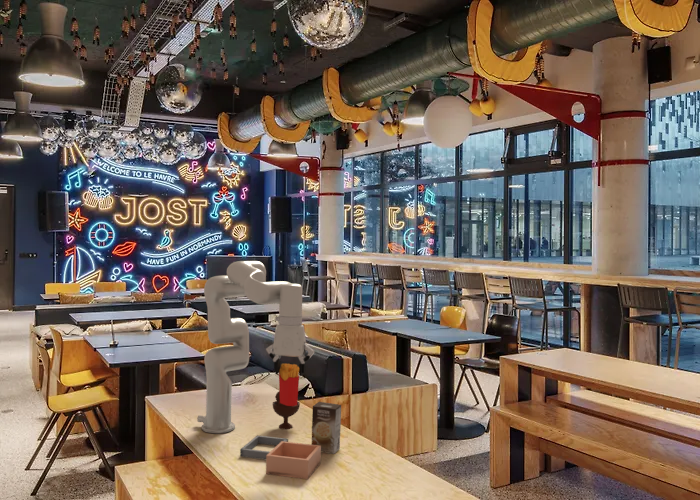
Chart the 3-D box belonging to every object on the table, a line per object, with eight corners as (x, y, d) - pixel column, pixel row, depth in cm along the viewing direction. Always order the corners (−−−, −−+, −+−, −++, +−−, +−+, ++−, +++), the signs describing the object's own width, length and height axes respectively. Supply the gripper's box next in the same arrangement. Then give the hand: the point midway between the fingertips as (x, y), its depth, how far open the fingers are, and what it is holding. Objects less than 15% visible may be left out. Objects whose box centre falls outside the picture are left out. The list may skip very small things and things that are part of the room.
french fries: (275, 401, 210) (276, 363, 210) (286, 399, 213) (286, 361, 212) (291, 407, 203) (292, 367, 203) (302, 405, 206) (303, 366, 205)
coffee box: (310, 450, 222) (311, 405, 222) (317, 444, 228) (318, 401, 228) (334, 454, 219) (335, 409, 219) (340, 448, 225) (341, 404, 225)
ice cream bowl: (295, 432, 241) (296, 393, 241) (267, 429, 244) (268, 391, 243) (302, 424, 252) (303, 387, 251) (276, 421, 254) (277, 385, 253)
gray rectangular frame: (240, 456, 215) (240, 449, 215) (257, 442, 230) (257, 435, 230) (273, 460, 212) (273, 453, 212) (288, 445, 227) (288, 438, 227)
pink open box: (265, 473, 201) (266, 455, 200) (281, 458, 214) (281, 441, 214) (307, 479, 197) (308, 460, 197) (320, 463, 211) (320, 445, 211)
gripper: (261, 321, 206) (260, 374, 206) (312, 324, 201) (311, 378, 202) (269, 318, 213) (269, 369, 213) (319, 321, 209) (318, 373, 209)
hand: (289, 373), depth 208 cm, fingers closed on french fries, 7 cm apart
